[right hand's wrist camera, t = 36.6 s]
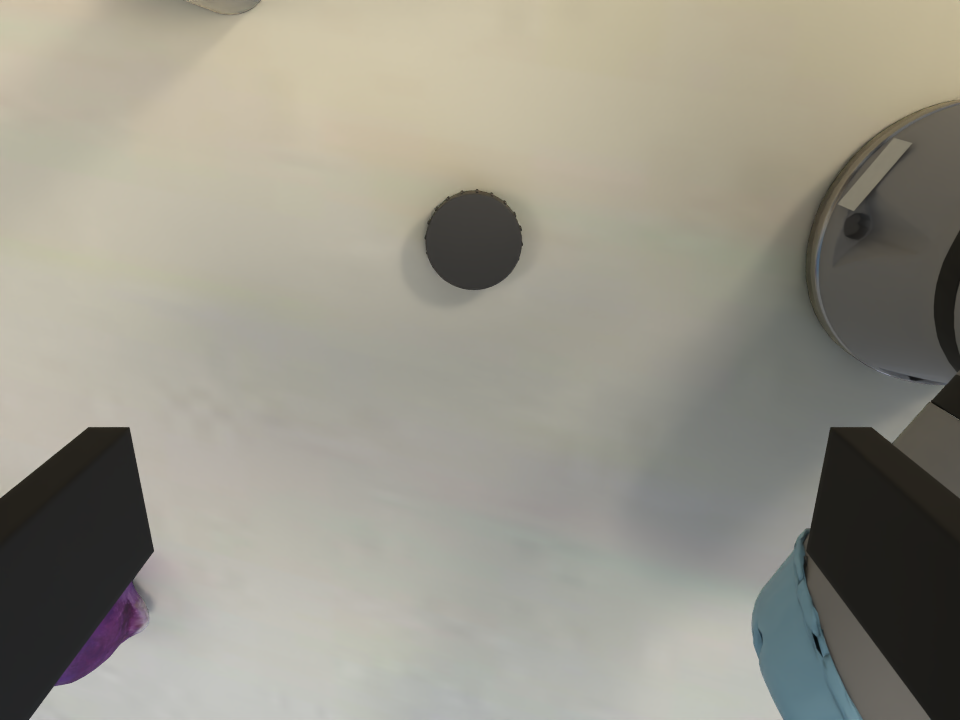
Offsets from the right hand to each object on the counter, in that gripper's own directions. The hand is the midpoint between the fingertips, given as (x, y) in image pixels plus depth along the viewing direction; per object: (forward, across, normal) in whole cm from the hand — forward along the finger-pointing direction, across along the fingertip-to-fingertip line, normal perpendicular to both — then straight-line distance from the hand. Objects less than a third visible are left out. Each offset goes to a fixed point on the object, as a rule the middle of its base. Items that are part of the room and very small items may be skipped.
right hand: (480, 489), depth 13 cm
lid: (+25, 0, 0) cm, 25 cm away
